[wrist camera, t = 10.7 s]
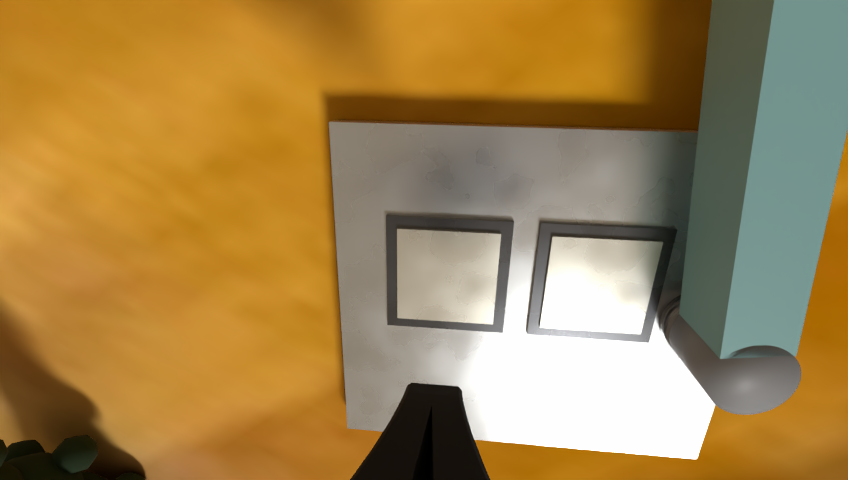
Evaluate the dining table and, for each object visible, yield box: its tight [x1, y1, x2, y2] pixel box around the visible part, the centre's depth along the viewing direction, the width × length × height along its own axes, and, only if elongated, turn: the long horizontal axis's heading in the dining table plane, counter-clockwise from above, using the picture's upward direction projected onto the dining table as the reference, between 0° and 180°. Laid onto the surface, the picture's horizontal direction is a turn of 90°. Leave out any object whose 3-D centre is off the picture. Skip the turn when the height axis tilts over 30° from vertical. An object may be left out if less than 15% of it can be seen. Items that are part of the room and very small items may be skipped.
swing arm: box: [669, 0, 848, 415], centre depth 14 cm, size 18×3×3 cm, turn 7°
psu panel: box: [329, 120, 715, 459], centre depth 19 cm, size 18×16×2 cm
